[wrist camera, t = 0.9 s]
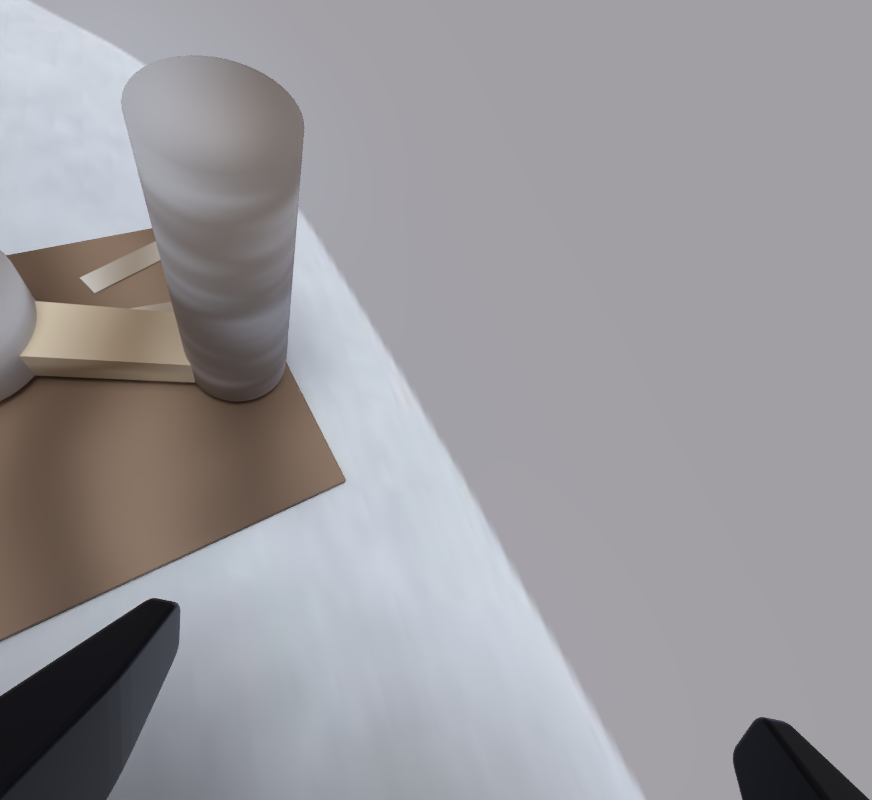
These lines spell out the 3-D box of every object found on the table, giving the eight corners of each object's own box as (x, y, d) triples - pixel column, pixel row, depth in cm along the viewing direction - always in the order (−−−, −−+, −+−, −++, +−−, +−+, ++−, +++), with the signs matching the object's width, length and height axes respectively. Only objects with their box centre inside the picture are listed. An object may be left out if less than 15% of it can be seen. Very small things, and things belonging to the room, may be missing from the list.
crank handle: (-180, 413, 18) (-809, 65, 7) (-117, 270, 20) (-519, -139, 10) (283, 424, 22) (302, 219, 12) (287, 307, 25) (305, 52, 14)
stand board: (-243, 753, 14) (-255, 755, 14) (-311, 321, 18) (-322, 314, 18) (344, 482, 22) (346, 479, 22) (212, 221, 26) (212, 215, 26)
